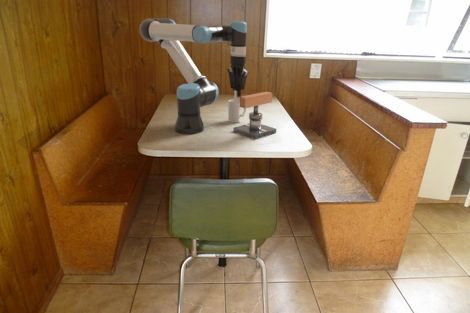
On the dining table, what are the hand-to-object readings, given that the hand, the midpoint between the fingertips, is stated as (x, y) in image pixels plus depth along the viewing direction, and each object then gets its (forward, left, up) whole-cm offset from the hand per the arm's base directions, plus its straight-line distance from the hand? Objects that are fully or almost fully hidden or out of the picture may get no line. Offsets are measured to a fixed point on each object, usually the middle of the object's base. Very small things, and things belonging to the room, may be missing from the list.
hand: (236, 102), depth 175 cm
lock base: (+8, +6, -15) cm, 18 cm away
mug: (-12, +12, -15) cm, 23 cm away
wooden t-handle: (+8, +6, -8) cm, 12 cm away
